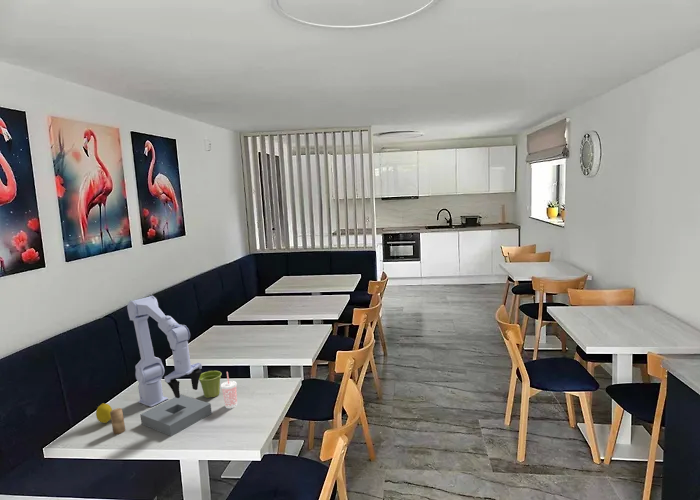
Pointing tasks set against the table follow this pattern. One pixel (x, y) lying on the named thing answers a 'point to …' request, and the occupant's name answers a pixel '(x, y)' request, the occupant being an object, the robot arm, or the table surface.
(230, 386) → the beverage cup
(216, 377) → the plant pot
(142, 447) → the table surface
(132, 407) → the table surface
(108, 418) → the lemon
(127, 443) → the table surface
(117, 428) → the peg
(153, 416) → the socket block
